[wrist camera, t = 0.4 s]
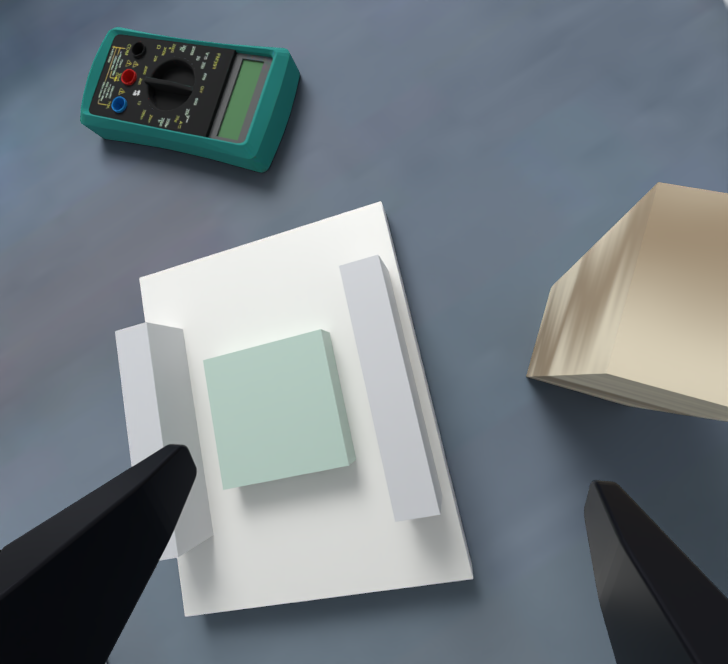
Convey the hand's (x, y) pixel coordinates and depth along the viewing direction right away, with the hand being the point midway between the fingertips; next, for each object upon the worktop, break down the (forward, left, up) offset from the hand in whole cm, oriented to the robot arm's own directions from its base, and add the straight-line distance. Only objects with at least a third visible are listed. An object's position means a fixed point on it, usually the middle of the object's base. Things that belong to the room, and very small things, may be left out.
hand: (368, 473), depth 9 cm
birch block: (-2, -9, -14) cm, 17 cm away
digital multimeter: (+26, 0, -15) cm, 30 cm away
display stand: (+5, +6, -14) cm, 16 cm away
